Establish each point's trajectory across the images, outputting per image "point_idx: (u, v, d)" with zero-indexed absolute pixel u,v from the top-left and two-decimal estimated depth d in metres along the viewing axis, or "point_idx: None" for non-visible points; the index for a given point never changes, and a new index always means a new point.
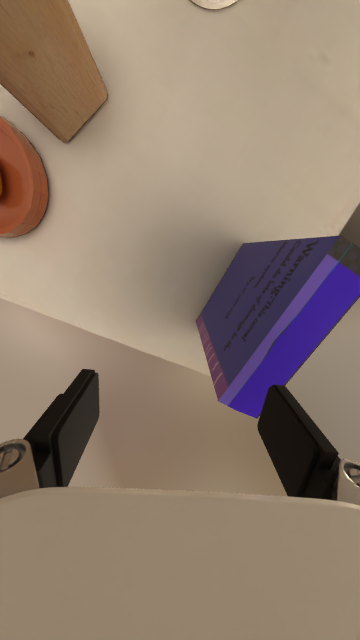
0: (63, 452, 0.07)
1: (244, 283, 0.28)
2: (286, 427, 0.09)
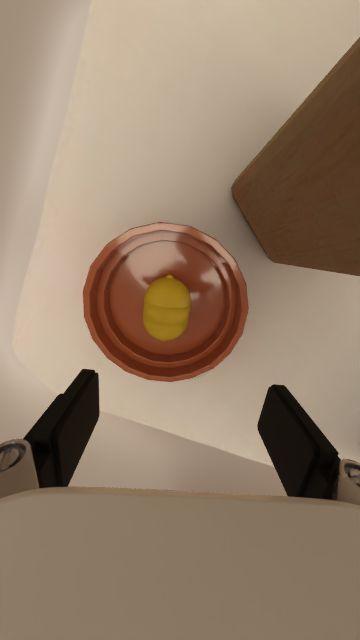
0: (63, 452, 0.07)
1: None
2: (286, 427, 0.09)
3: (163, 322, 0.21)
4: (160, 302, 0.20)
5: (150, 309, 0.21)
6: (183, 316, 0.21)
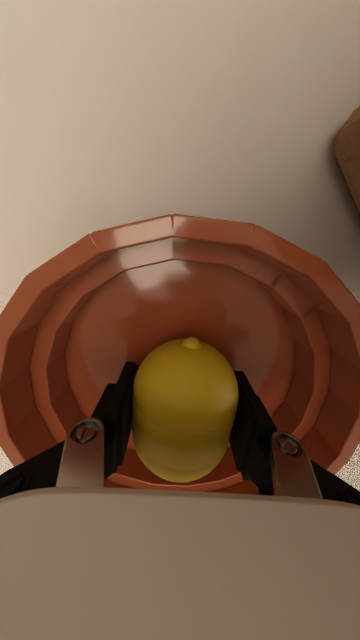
0: (123, 431, 0.08)
1: None
2: (237, 407, 0.10)
3: (180, 463, 0.08)
4: (173, 422, 0.08)
5: (147, 429, 0.08)
6: (226, 438, 0.09)
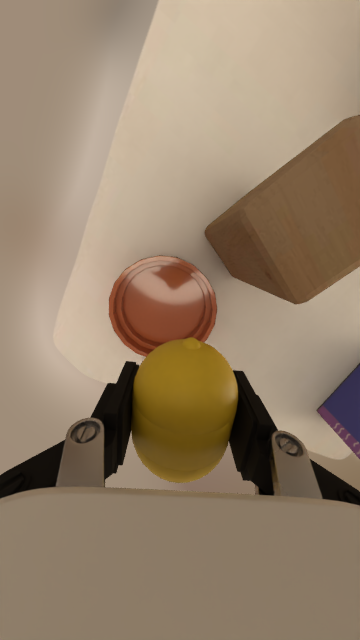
0: (123, 431, 0.08)
1: None
2: (237, 407, 0.10)
3: (179, 463, 0.08)
4: (172, 422, 0.08)
5: (147, 430, 0.08)
6: (226, 438, 0.09)
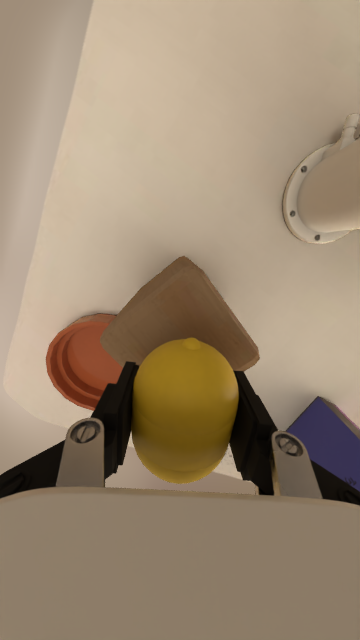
0: (123, 431, 0.08)
1: (341, 476, 0.33)
2: None
3: (179, 464, 0.08)
4: (172, 423, 0.08)
5: (147, 430, 0.08)
6: (226, 439, 0.09)
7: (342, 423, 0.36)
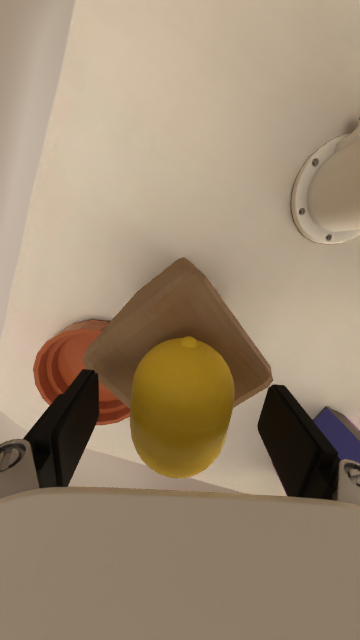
0: (63, 452, 0.07)
1: None
2: (286, 427, 0.09)
3: (177, 459, 0.09)
4: (170, 418, 0.08)
5: (145, 426, 0.09)
6: (223, 434, 0.09)
7: (354, 437, 0.33)
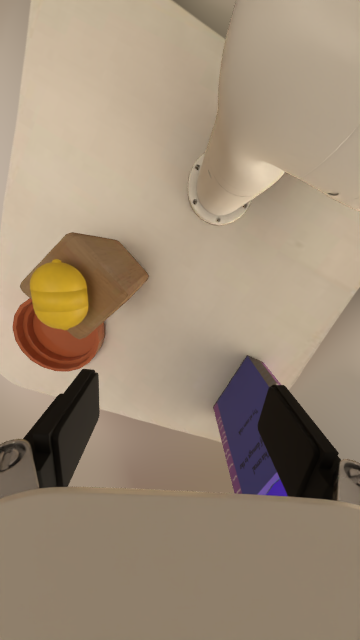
0: (63, 452, 0.07)
1: (251, 410, 0.41)
2: (286, 427, 0.09)
3: (46, 308, 0.20)
4: (38, 287, 0.19)
5: (32, 295, 0.20)
6: (71, 301, 0.20)
7: (257, 371, 0.44)
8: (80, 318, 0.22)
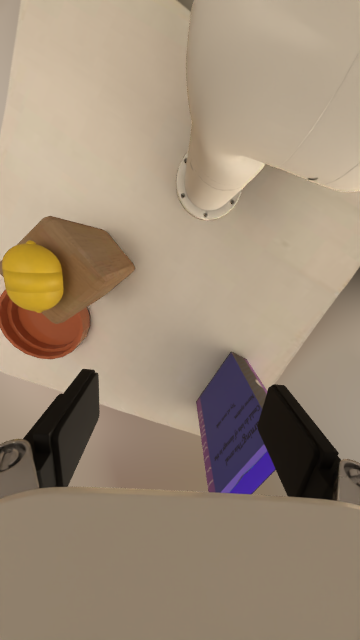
0: (63, 452, 0.07)
1: (229, 404, 0.41)
2: (286, 427, 0.09)
3: (17, 288, 0.20)
4: (10, 266, 0.19)
5: (4, 275, 0.20)
6: (43, 283, 0.21)
7: (238, 367, 0.45)
8: (53, 301, 0.22)
